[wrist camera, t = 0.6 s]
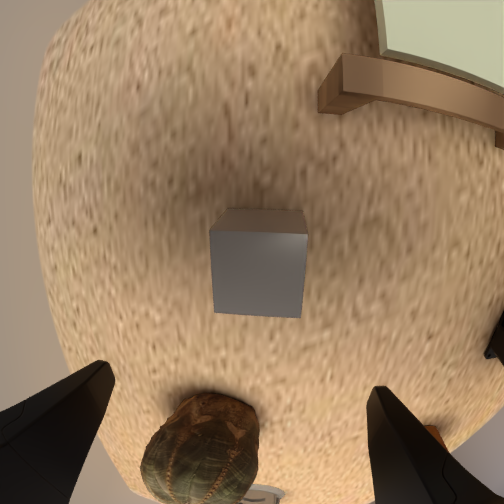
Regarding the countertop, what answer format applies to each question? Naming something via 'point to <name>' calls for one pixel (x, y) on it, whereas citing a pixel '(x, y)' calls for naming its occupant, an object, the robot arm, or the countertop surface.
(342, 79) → the frame
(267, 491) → the french press
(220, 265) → the gray cube
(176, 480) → the shell
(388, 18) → the trapdoor
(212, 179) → the countertop surface
